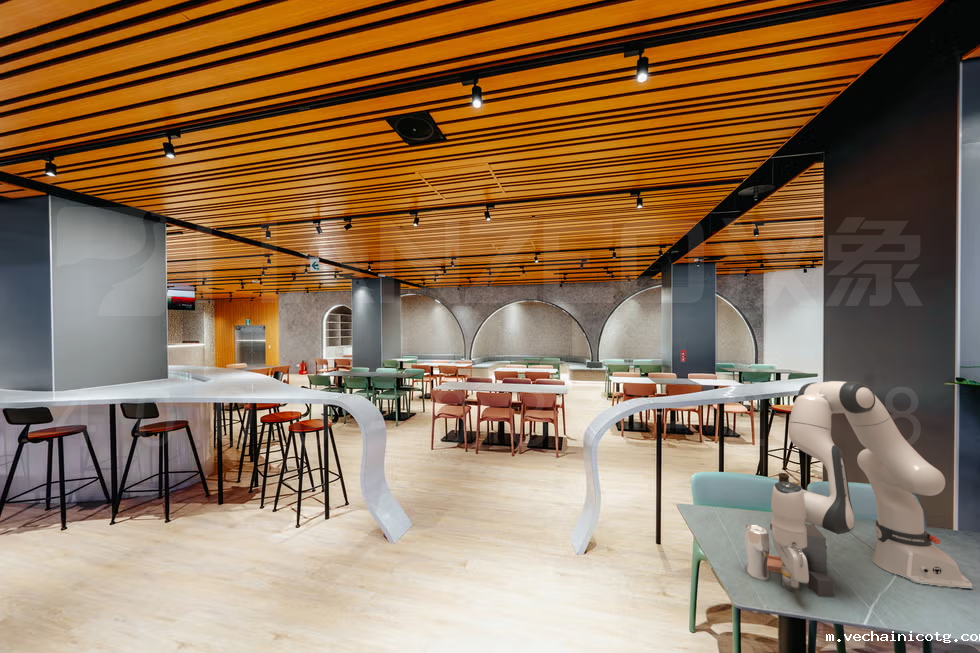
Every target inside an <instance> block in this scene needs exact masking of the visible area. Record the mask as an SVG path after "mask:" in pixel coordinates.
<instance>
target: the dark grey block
mask: <svg viewBox="0 0 980 653" xmlns="http://www.w3.org/2000/svg"><path fill="white" fill-rule="evenodd" d="M805 526H806V529H807V547H806V548H802V552H803V553H804V555H805V556H806V559H807V563H808V571H809V572H823V573H824V574H826V575H827V576H828V565H827V563H828V561H827V558H828V557H827V556H828V555H827V550H828V546H827V537H825V536H824V535H823V533H822V532H821V531H820V530H819V529H818V528H817V527H816V525H814V524H811V523H805Z"/></svg>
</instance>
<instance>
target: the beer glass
mask: <svg viewBox="0 0 980 653" xmlns="http://www.w3.org/2000/svg"><path fill="white" fill-rule="evenodd" d="M769 536H770V535H769V530H768V529H767V528H765V527H763V526H760V525H756V524H746V525H745V526H744V536H743V537H744V546H745V548H744V549H745V551H746V552H745V553H746V557H747V567H746V572H747V574H748V575H749V576H750V577H752V578H754V579H757V580H760V581H767V580H769V578H770V575H769V571H768V570H767V562H768V556H769V555H770V548H771V547H770V545H771V544H770V537H769Z"/></svg>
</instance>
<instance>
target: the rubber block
mask: <svg viewBox="0 0 980 653" xmlns="http://www.w3.org/2000/svg"><path fill="white" fill-rule="evenodd" d="M808 573H809V582H808V583H807V584H808V589H810V590H811V591H812V592H813V594H815V595H816V596H818V597H820V598H821V597H822V598H833V599H834V598H835V581H834V580H833V579H832V578H831V577H830V576H828V574H827V575H826V574H824V573H823V572H809V571H808Z"/></svg>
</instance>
